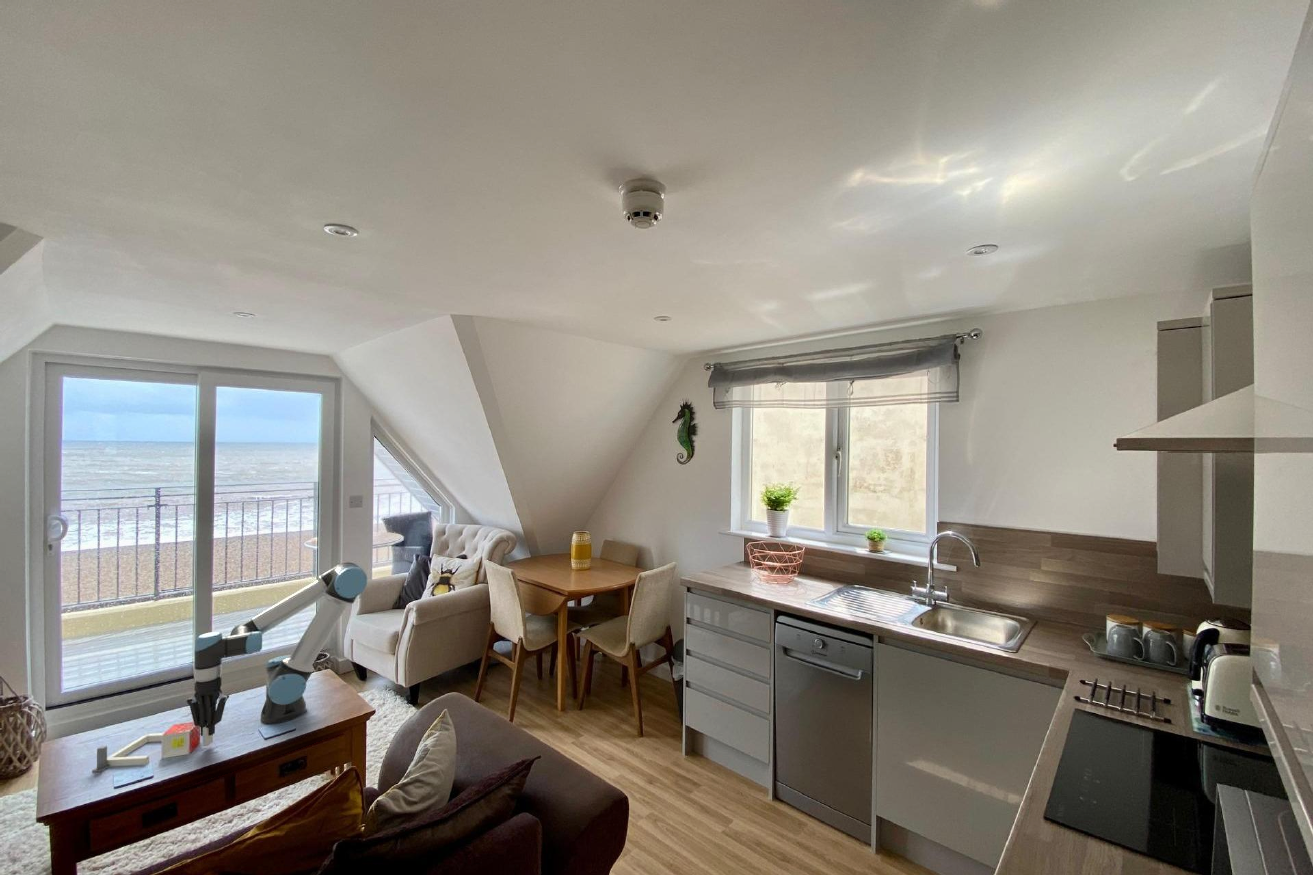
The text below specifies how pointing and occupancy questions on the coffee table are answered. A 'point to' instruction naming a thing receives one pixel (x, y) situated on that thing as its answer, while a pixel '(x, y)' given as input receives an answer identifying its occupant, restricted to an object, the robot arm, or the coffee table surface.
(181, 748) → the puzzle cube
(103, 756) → the keeper bracket
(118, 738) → the coffee table surface
